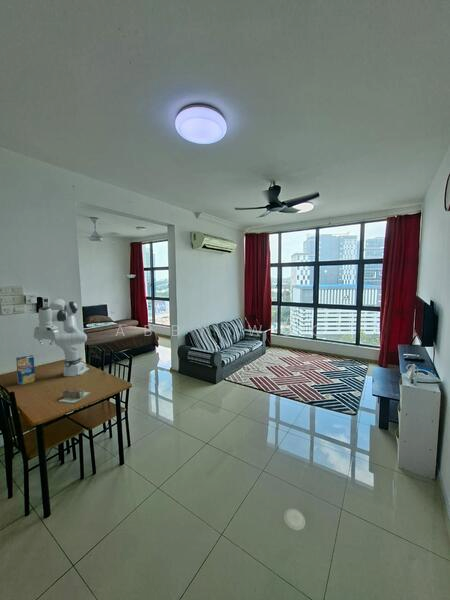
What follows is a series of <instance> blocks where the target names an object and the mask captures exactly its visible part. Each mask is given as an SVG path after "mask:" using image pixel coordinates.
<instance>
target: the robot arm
mask: <svg viewBox="0 0 450 600" xmlns="http://www.w3.org/2000/svg"><path fill="white" fill-rule="evenodd" d="M78 309H79V307H78V304H77V303H76V302H75V301H69V302H66V301H65V300H64V299H62V298H56V299H54V300H52V301H51V302H50V303H49V306H42V307H40V308H39V310H38V321H39V322H38V326H36V327H34V330H33V339H36V340H37V339H38V340H37V341H38V342H39V345H44V341H43V340H50V342H49V345H50V346H53V345H54V344H55V345H56V346H57V347H59V348H60V349H62V351H63V355H64V365H63V376H64V377H75V376H81V375H83V374H85V373H86V372H87V371H89V370H90V368H89V367H87V365H86V363H84V362H83V361H82V360H83V357H80V355H79V354H80V352H79V349H77V348H74V347H72V346H75V345H80V344H85V343H87V340H88V335H87V334H86V333H85V332H83V331H81V330H80V329H79V328H78V321H77V318H76V313H77V311H78ZM54 322H62V323H63V324H62V325H63V331H64V332H65V333H61V334H60V332H59V327H58V326H57V325H54V324H53V323H54ZM85 371H86V372H85Z"/></svg>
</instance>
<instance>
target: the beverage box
mask: <svg viewBox="0 0 450 600" xmlns="http://www.w3.org/2000/svg"><path fill="white" fill-rule="evenodd" d="M16 373H17V374H16V375H17V376H16V377H17V384H18V386H21V385H24V384H29V383H35V382H36V380H35V379H36V375H35V373H36V372H35V356H34V355H33V354H31V355H26V356H24V355H23V356H19V357H16Z"/></svg>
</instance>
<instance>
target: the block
mask: <svg viewBox="0 0 450 600" xmlns="http://www.w3.org/2000/svg"><path fill="white" fill-rule="evenodd" d="M84 392H85V389H84V388H83V389H82V388H73V387H66V388H65V389H63V390H62V398H64V397H68V398H77V399H80V398H82V397H83V396H84Z"/></svg>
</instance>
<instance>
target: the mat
mask: <svg viewBox="0 0 450 600" xmlns="http://www.w3.org/2000/svg"><path fill="white" fill-rule="evenodd" d="M91 394H92V393H91V392H87V391H84V396H83V397H82V398H80V399H77V398H68V397H62V398H61V399H59V400H58V401H57V402H59V403H68V404H77V403H79V402H80V401H81V400H83V399H85V398H86V397H87V396H89V395H91Z"/></svg>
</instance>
